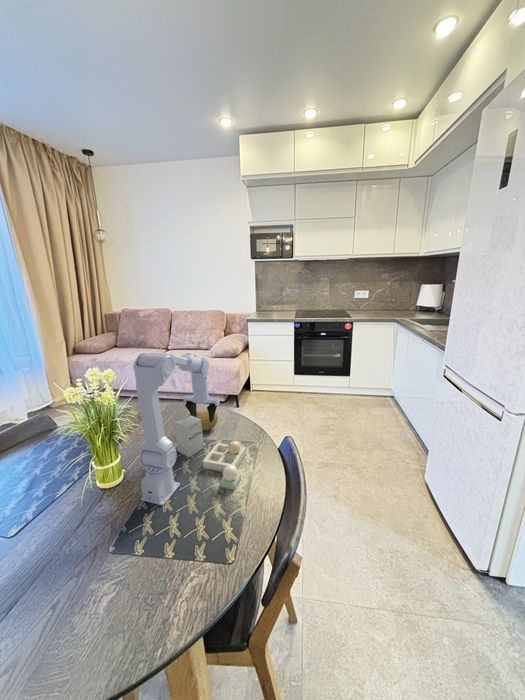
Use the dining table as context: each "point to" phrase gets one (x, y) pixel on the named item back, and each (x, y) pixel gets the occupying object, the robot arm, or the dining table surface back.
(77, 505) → the dining table surface
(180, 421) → the supplement box
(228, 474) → the cream egg
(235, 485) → the mint square frame
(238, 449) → the brown egg
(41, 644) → the dining table surface
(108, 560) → the dining table surface
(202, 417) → the potato
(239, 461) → the carton
